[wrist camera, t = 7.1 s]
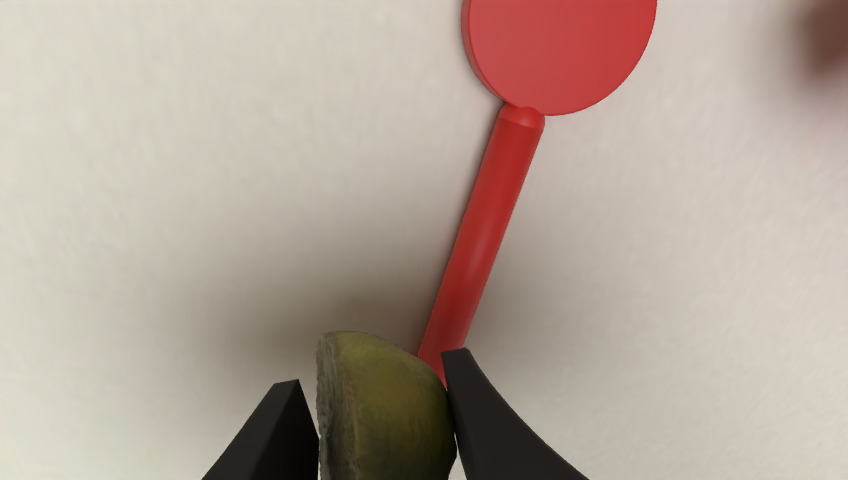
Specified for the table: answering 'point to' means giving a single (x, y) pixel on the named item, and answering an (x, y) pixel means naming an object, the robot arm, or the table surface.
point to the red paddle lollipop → (526, 120)
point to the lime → (380, 412)
